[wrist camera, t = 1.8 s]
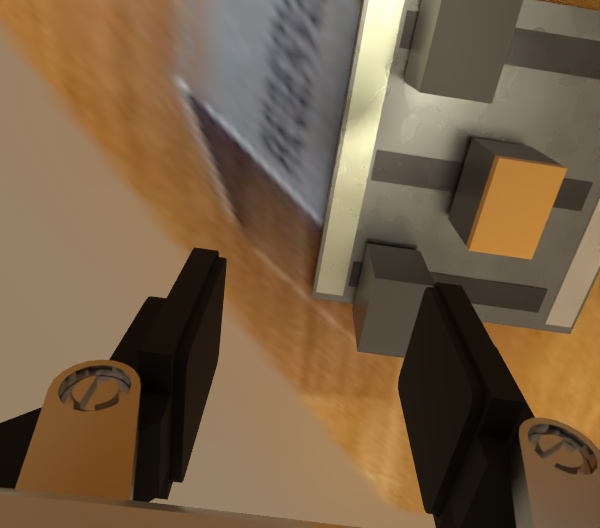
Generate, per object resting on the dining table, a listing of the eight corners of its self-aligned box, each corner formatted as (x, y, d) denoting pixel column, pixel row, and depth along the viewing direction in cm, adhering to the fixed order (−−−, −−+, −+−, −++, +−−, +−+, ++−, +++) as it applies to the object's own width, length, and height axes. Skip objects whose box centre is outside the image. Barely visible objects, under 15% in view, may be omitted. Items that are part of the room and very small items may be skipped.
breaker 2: (493, -13, 22) (529, -20, 18) (464, 90, 24) (491, 103, 20) (426, -24, 22) (449, -33, 18) (403, 81, 24) (419, 92, 20)
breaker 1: (420, 250, 27) (436, 286, 24) (401, 316, 29) (413, 358, 26) (367, 243, 27) (375, 277, 24) (352, 310, 29) (357, 351, 26)
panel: (690, 28, 24) (714, 29, 22) (559, 320, 31) (570, 334, 30) (366, -25, 23) (369, -28, 22) (311, 285, 31) (311, 298, 29)
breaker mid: (530, 146, 25) (567, 168, 21) (502, 226, 27) (531, 259, 23) (472, 137, 25) (499, 158, 21) (447, 218, 27) (469, 250, 23)
